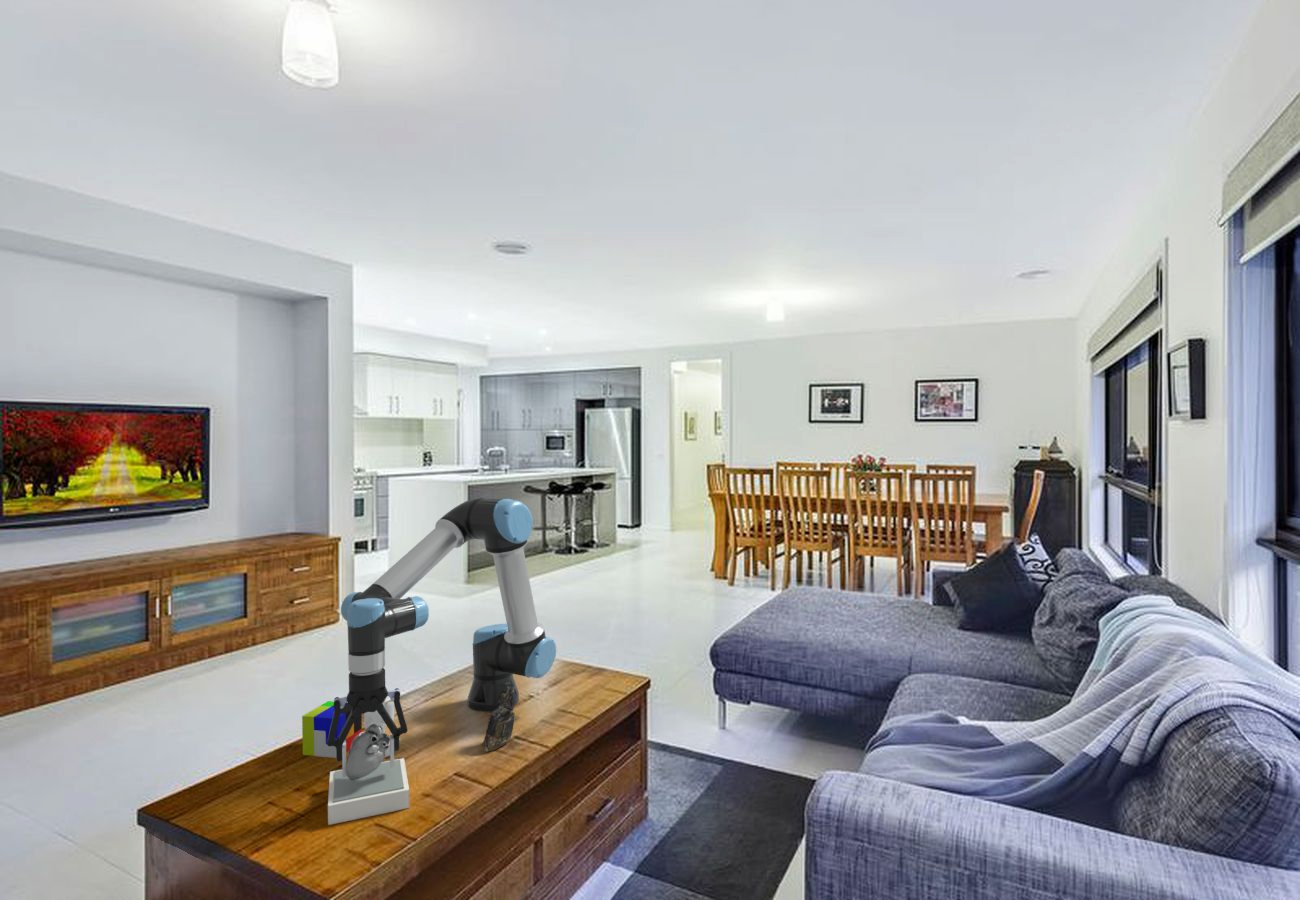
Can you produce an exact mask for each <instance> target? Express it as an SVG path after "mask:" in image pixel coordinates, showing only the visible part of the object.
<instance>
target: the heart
mask: <svg viewBox="0 0 1300 900" xmlns="http://www.w3.org/2000/svg"><path fill="white" fill-rule="evenodd" d="M387 735H388V734H386V732H385V733H383V730H382V727H381V726H377V725H376V724H372V725H370V726H369V727H368V728H367V729H365V731H362V732H361V733H359V734H358V735H357V736H356V737H355V738H354V739H353V741H352V744H351V747H350V750H348V756H347V759H346V775H347V777H348V778H349V779H350V780H357V779H359V778H362V777H364V776H367V775H368V774H370V773H371V772H373V771H374V770H376V769H377V768H378V767H379V766H380V764H381V762H384V760H385V750H387V749H388V748H389V746H388V743H389V740H390V738H389V737H387Z"/></svg>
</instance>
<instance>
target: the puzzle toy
mask: <svg viewBox="0 0 1300 900" xmlns="http://www.w3.org/2000/svg"><path fill="white" fill-rule="evenodd" d="M351 710H352V707H351V705H350V704H349V703H348V702H347V703H345V705H344V708H342V709H341V713H340V717H339V721H338V726H337V730H336V734H335V738H338V737H339V735H340V733H341V731H342V729H343V727H344V725H345V723H346V721H347V719H348V717H349V715H350V713H351ZM333 714H334V700H332V701H331V700H328V701H326V702H324V703H322V704H321V705H318V706H317V707H315V708H314V709H312V710H310V711H309V712H306V713H305V714H303V715H302V716H301V722H302V724H301V725H302V726H301V727H302V728H301V730H302V732H301V733H302V755H303V756H311V757H312V756H313V757H323V758H331V759H333V758H334V759H337V756H336V747H335V746H328V745H327V740H328V735H329V731H330V727H331V723H332V719H333ZM362 715H363V714H360V713H359V714H358V716H357V718H356V719H355V721H354V723H353V725H352V727H351V729H350V731H349V733H348V735H347V737H346V739H345V741H344V742H346V753H347V752H349V751H350V747H351V744H352V741H353V739H354V738H355V737H356V736H357V735H358V734H359V733H361V732H363V728H362V727H363V725H362V724H363V719H362V717H363V716H362Z"/></svg>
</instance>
